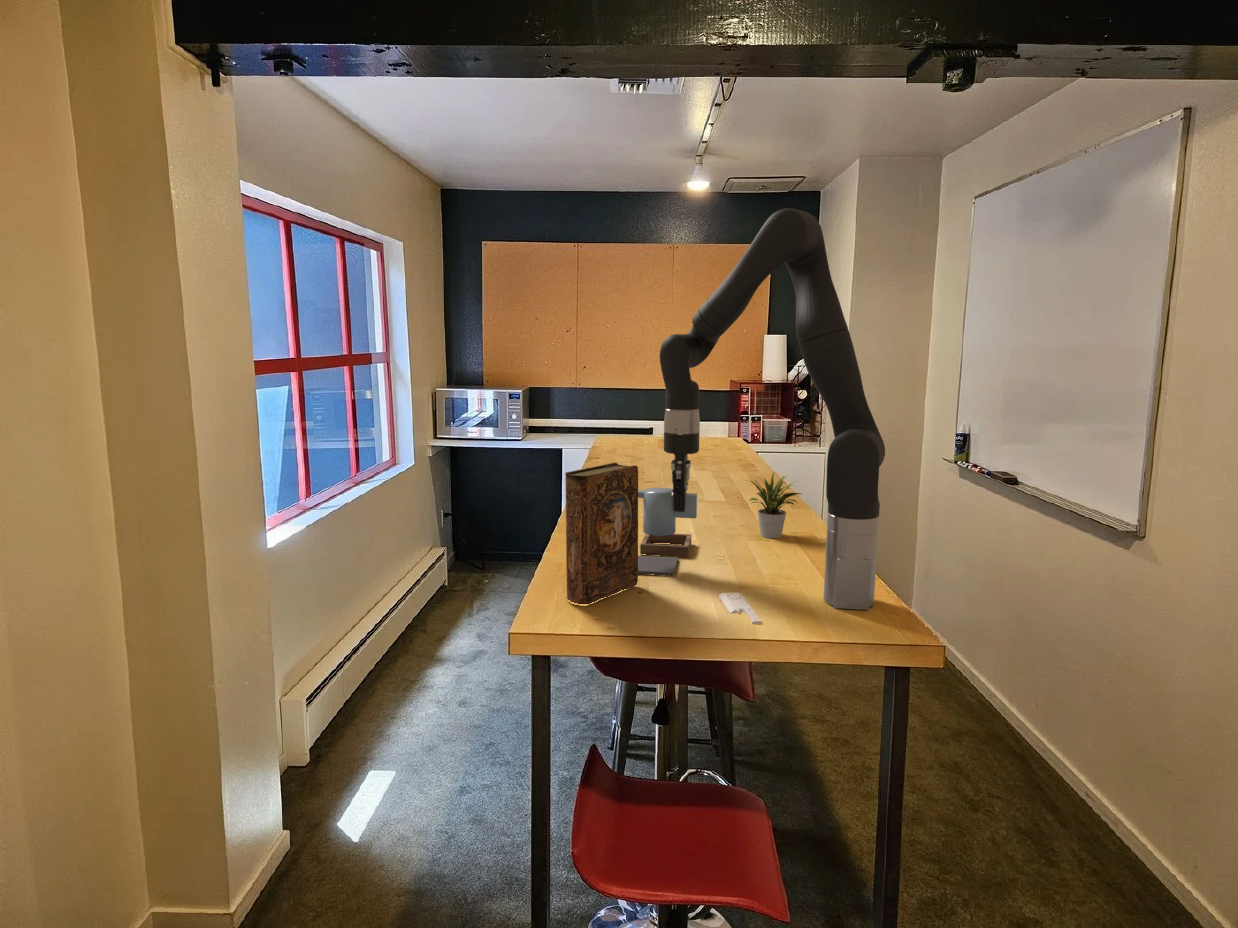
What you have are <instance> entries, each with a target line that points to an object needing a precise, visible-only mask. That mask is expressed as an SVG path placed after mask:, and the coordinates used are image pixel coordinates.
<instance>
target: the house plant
mask: <svg viewBox="0 0 1238 928" xmlns="http://www.w3.org/2000/svg"><path fill="white" fill-rule="evenodd" d="M774 476H775V471H773V472H772V474H771V477H770V483H769V482H768V480H767V479H766V478H763V480H762V478H760V480H762V482H764V486H765V488H764V487H763V488H762V486H761V484H760V483H759V482H758V481H757V480H756V479H754V481H755V482H754V481H752V480H748V479H745V481H747V482H750V483H751V484H753V485H754V486H755V488H756V489H758V491H759V492H756V495H758V496H759V497H760V498H761V499H762V500H763V502H762V501H760V500H759V499H758V498H755V497H751V498H749V500H748V502H750V503H749V504H753V503H756V504H757V503H758V504H759V505H760V504H761V505H762V507H763V508H760V509H758V510H757V516H758V524H759V533H760V536H761V537H763V538H765V539H778V538H779V539H780V538H781V537H782V535H783V531H784V530H783V529H784V527H785V526H784V525H785V520H786V515H787V512H786V511H785V510H783V509H781V508H782V507H783V506H785V505H786V504H791V505H793V506H795V504H794V502H795V503H797V504H799V502H798V501H797V500H796V499H791V498H789V497H793V496H796V495H802V493H801V492H789V493H787V492H786V493H784V492H785V491H787V490H788V489H789V490H790V489H791V488H790V487H794V486H795V485H793V484H795V483H797V482H799V481H798V480H797V481H794V482H791V483H790V484H788V485H787V486H783V482H784V480H785V479H786V478H788V477H787V476H788V475H787V476H782V477H781V478H779V479H778V481H777V483H776V484H774V483H775V482H774V478H775V477H774ZM756 478H757V479H759V477H756ZM774 485H775V486H774ZM782 486H783V487H782ZM751 501H752V502H751Z"/></svg>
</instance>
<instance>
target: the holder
mask: <svg viewBox="0 0 1238 928" xmlns="http://www.w3.org/2000/svg"><path fill="white" fill-rule="evenodd" d="M644 534H645V533H644ZM649 543H670V544H681V545H668V544H649ZM691 546H692V534H690V533H689V534H687V533H685V534H684V533H674V534H672V535H666V536H654V535H648V534H645V535H644V537H643V539H642V541H641V543H640V546H639V549H640V550H639V552H640V553H639V555H640V554H646V555H660V556H659V557H666V556H671V557H676V558H689V555H690V552H691V551H690V550H691Z"/></svg>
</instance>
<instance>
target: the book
mask: <svg viewBox="0 0 1238 928" xmlns="http://www.w3.org/2000/svg"><path fill="white" fill-rule="evenodd" d="M638 490H639V467H638V465H622V464H618V462H610V463H606V464H601V465H594V466H590V467H585V468H580V469H576V470H572V471H565V538H566V539H565V540H566V541H565V543H566V544H565V546H566V548H565V549H566V554H565V555H566V600H567V599H568V600H570V601H571V602H574V603H578V604H590V603H592V602H595V601H597V600H599V599H601V598H604V597H608V596H610V595H612V594H615V593H617V592H619V591H621V590H624V589H628V588H630V589H632V588H634V587H636V586H637V584H638V582H639V581H638V579H639V574H638V556H639V498H638ZM635 585H636V586H635ZM633 586H634V587H633ZM631 587H632V588H631ZM628 590H629V589H628Z"/></svg>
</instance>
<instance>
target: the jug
mask: <svg viewBox="0 0 1238 928" xmlns="http://www.w3.org/2000/svg"><path fill="white" fill-rule="evenodd" d="M638 499H642V500H643V502H642V506H643V510H642V513H643V514H642V515H643V522H642V525H643V527H642V532H643V533H644V534H648V535H654V536H666V535H672V534H676V522H677V521H676V520H677V518H679V519H697V517H698V493H690V492H689V493H688V492H686V495H685V511H684V512H676V511H675V510H674V507H675V494H674V493H673V488H668V487H650V488H649V487H648V488H645V489H643V490H642V489H638Z"/></svg>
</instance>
